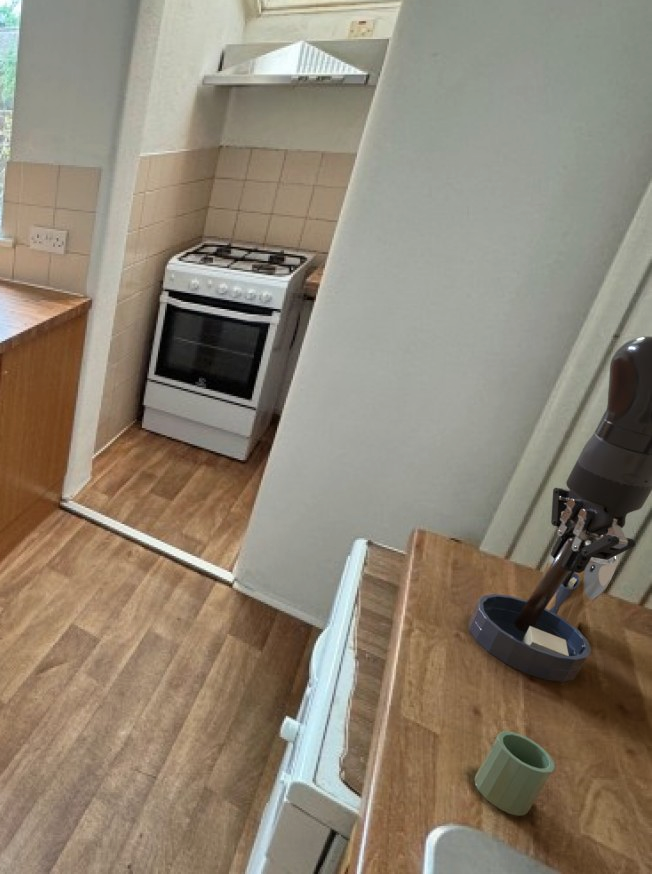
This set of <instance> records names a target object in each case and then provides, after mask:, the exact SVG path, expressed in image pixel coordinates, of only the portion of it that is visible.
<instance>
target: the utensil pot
mask: <svg viewBox="0 0 652 874" xmlns="http://www.w3.org/2000/svg"><path fill="white" fill-rule="evenodd" d="M555 770H556V764H555V761H554V759H553V758H552V756H551V755H550V754H549V753H548V752H547V750H546V749H545V748H543V747H542V746H541V745H540V744H538V743H537V742H535V741H534V740H532V739H531V738H529V737H527V736H525V735H522V734H521V733H517V732H514V731H510V730H505V731H504V730H503V731H501V732H499V733H498V734H497V735H496V737H495V739H494V741H493V742H492V745H490V748H489V750H488V751H487V753H486V756H485V757H484V759H483V761H482V763H481V764H480V767H479V768H478V770H477V771H476V774H475V775H474V784H475V787H476V788H477V791H478V792H479V793H480V794H481V795H482V796H483V798H485V799H486V800H487V801H488V802H489V803H490V804H491V805H493V806H494V807H496V808H497V809H499V810H501V811H503V812H505V813H507V814H510V815H512V816H518V817H521V816H525V815H527V814H528V813H529V812H530V810H531V809H532V807H533V805H534V804H535V803H536V800H537V799H538V797H539V796H540V794H541V792H542V791H543V789H544V787H545V786H546V784H547V783H548V782H549V780H550V779H551V776H552V775H553V773H554V772H555Z"/></svg>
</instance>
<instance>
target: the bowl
mask: <svg viewBox="0 0 652 874" xmlns="http://www.w3.org/2000/svg"><path fill="white" fill-rule="evenodd" d="M527 601H528V599H527V600H526V599H523V598H520V597H517V596H513V595H509V594H500V593H492V594H491V593H490V594H486V595H482V596H481V597H480V599H478V600H477V602H476V605H475V607H474V609H473V611H472V613H471V615H470V617H469V619H468V622H467V623H468V631H469V632H470V634H471V635H472V637H473V639H474V640H475V642H476V643H478V644H479V645H480V646H481V647H482V648H483V649H484V650H485V651H486V652H487V653H488V654H490V655H491V656H493V657H494V658H496V659H497V660H499V661H500V662H502V663H503V664H505V665H507V666H509V667H511V668H513V669H515V670H517V671H519V672H521V673H523V674H526V675H528V676H532V677H535V678H538V679H541V680H545V681H552V682H557V683H558V682H559V683H564V682H568V681H574V680H575V678H576V677H577V676H578V674H579V673H580V670H582V668H583V666H584V664H585V663H586V661H587V660H588V658H589V656H590V654H591V652H592V649H591V645H590V642H589V640H588V639H587V638H586V637H585V636H584V635H583V633H582V632H581V631H580V630H579V628H578V629H577V628H575V627H574V626H573V625H571V624H570V623H569V622H567V621H566V620H565V619H563V618H562V617H560V616H558V615H557V614H555V613H553V612H551V611H550V610H548V609H546V608H545V609H544V611H543V612H542V614H541V615H540V617H539V618H538V620H537V621H536V623H535V624H534V626H533V627H534V628H536V629H539V630H541V631H544V632H547V633H549V634H552V635H554V636H557V637H560V638H562V639H565V640H566V644H567V649H568V654H569V656H565V655H556V654H553V653H549V652H546V651H543V650H540V649H537V648H535V647H532V646H530V645H528V644H526V643H524V642H522V640H523V638H524V636H525V634H526V633H527V632H521V631H519V630H518V629H516V628H515V626H514V621H515V619H516V618H517V616H518V615H519V613H520V612H521V610H522V608H523V607H524V605H525V604H526V602H527Z"/></svg>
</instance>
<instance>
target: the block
mask: <svg viewBox="0 0 652 874" xmlns="http://www.w3.org/2000/svg"><path fill="white" fill-rule="evenodd" d="M522 642H524V643H526V644H528V645H530V646H532V647H535V648H537V649H540V650H543V651H546V652H549V653H553V654H556V655H565V656H569V654H568V649H567V644H566V640H565V639H562V638H560V637H557V636H554V635H552V634H549V633H547V632H544V631H541V630H539V629H536V628H534V627H531V626H530V627H529V629H528V631H527V633H526V634H525V636H524V638H523V640H522Z"/></svg>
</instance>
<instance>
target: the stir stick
mask: <svg viewBox="0 0 652 874" xmlns="http://www.w3.org/2000/svg"><path fill="white" fill-rule="evenodd" d="M574 539H575V537H570V538H568V539H567V540H566V542H565V544H564V545H563V547H562V548H561V550H560V551H559V553H558V554H557V556H556V557H555V559H554V561H553V562H552V564H551V565H550V567H549V568H548V570H547V571H546V573H545V574H544V576H543V578H542V577H541V580H540V581H539V582H538V584H537V586H536V587H535V588H534V590H533V591H532V593H531V594H530V596H529V598H528V599H527V602H526V604H525V605H524V607H523V608H522V610H521V612H520V613H519V615H518V616H517V618H516V619H515V621H514V626H515V628H516V629H518V630H519V631H521V632H527V631H528V629H529V627H530V626H531V627H533V626H534V624H535V623H536V621H537V620H538V618H539V617H540V615H541V614H542V612H543V611H544V609H545V608H546V606H547V605H548V603H549V602H550V600H551V599H552V597H553V596H554V594H555V593H556V591H557V590H558V588H559V587H560V585H561V584H562V582H563V581H564V579H565V578H566V576H567V575H568V573H569V572H570V571H566V570H564V569H563V568H562V566H561V564H562V562H563V560H564V558H565V556H566V554H567V553H568V551H569V549H570V548H572V544H573V541H574ZM584 545H586V543H584Z"/></svg>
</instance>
